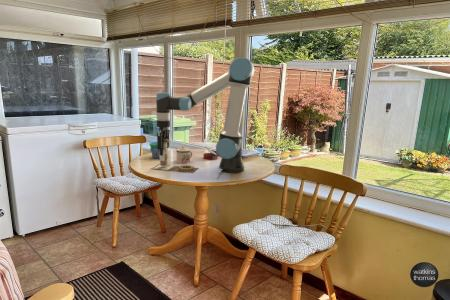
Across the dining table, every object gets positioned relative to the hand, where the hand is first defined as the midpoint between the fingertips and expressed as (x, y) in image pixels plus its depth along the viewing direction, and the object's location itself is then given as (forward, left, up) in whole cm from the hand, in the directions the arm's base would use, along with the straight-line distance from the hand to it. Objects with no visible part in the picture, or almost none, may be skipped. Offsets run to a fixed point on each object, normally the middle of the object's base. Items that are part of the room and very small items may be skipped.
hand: (163, 159), depth 179 cm
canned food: (-18, -39, -7) cm, 43 cm away
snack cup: (+17, -29, -7) cm, 34 cm away
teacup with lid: (-6, -20, -7) cm, 22 cm away
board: (-7, 0, -6) cm, 9 cm away
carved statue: (0, 0, -3) cm, 3 cm away
